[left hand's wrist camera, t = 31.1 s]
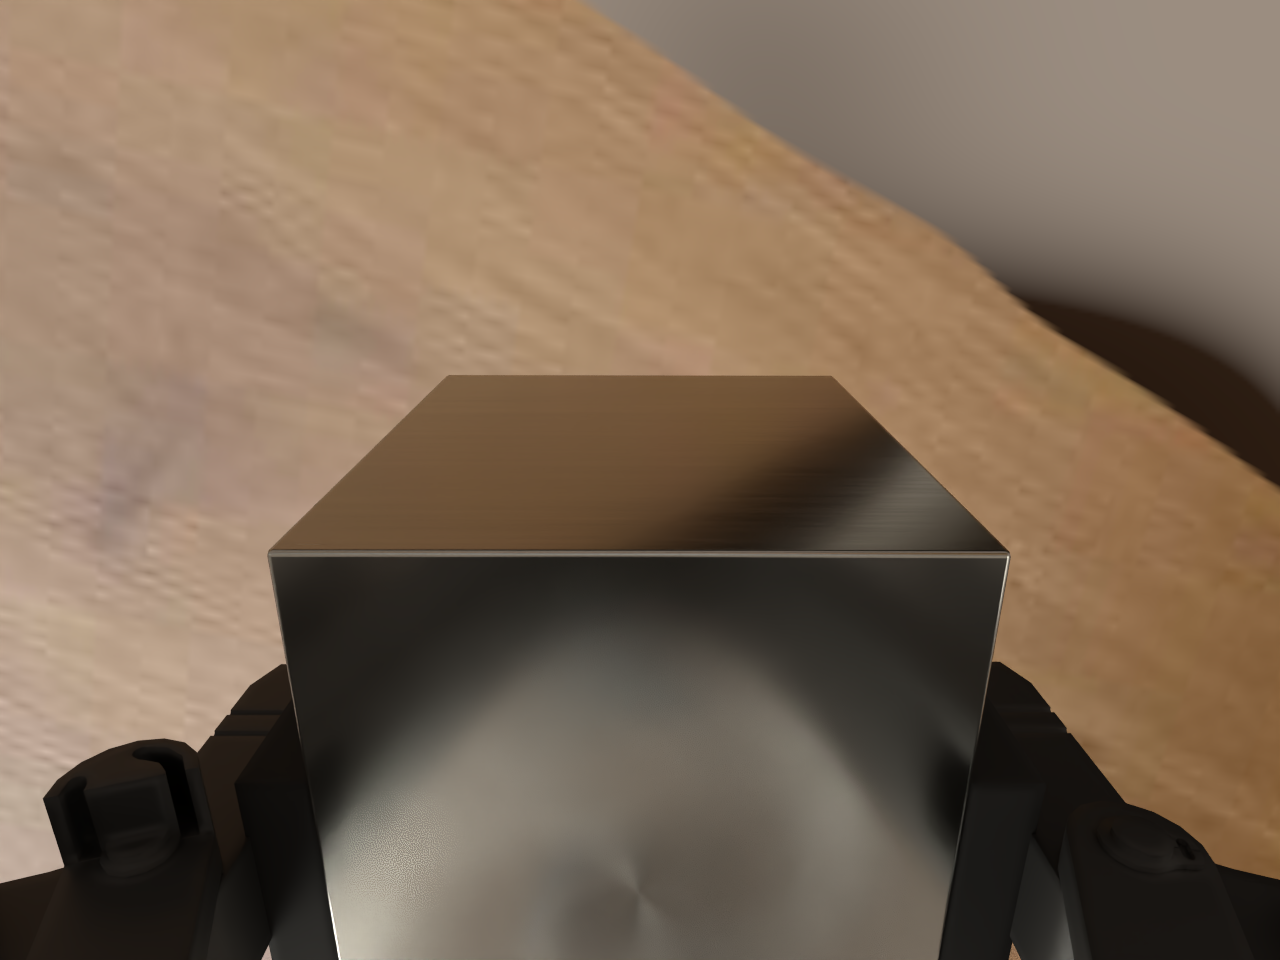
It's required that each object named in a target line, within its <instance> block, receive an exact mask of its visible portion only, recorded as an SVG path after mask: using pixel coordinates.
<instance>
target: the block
mask: <svg viewBox="0 0 1280 960" xmlns="http://www.w3.org/2000/svg"><path fill="white" fill-rule="evenodd" d="M1010 558H1011V557H1010V552H1009V551H1008V550H1007V549H1006V548H1005V547H1004V546H1003V545H1002V544H1001V543H1000V542H999V541H998V540H997V539H996V538H995V537H994V536H993V535H992V534H991V533H990V532H989V531H988V530H987V529H986V528H985V527H984V526H983V525H982V524H981V523H980V522H979V521H978V520H977V519H976V518H975V517H974V516H973V515H972V514H971V513H970V512H969V511H968V510H967V509H966V508H965V507H964V506H963V505H962V504H961V503H960V502H959V501H958V500H957V499H956V498H955V497H954V496H952V495H951V494H950V493H949V492H948V491H947V490H946V489H945V488H944V487H943V486H942V485H941V484H940V483H939V482H938V481H937V480H936V479H935V478H934V477H933V476H932V475H931V474H930V473H929V472H928V471H927V470H926V469H925V468H924V467H923V466H922V465H921V464H920V463H919V462H918V461H917V460H916V459H915V458H914V457H913V456H912V455H911V454H910V453H909V452H908V451H907V450H906V449H905V448H904V447H903V446H902V445H901V444H900V443H899V442H898V441H897V440H896V439H895V438H894V437H893V436H892V435H891V434H890V433H889V432H888V431H887V430H886V429H885V428H884V427H883V426H882V425H881V424H880V423H879V422H878V421H877V420H876V419H875V418H874V417H873V416H872V415H871V414H870V413H869V412H868V411H867V410H866V409H865V408H864V407H863V406H862V405H861V404H860V403H859V402H858V401H857V400H856V399H855V398H854V397H853V396H852V395H851V394H850V393H849V392H848V391H847V390H846V389H845V388H844V387H842V386H841V385H840V384H839V383H838V382H837V381H836V380H835V379H834V378H833V377H832V376H604V375H448V376H447V377H446V378H445V379H443V380H442V381H441V382H440V383H439V384H438V385H437V386H436V387H435V388H434V389H433V390H432V391H431V392H430V393H429V394H428V395H427V396H426V397H425V398H424V399H423V400H422V401H421V402H420V403H419V404H418V405H417V406H416V407H415V408H414V409H413V410H412V411H411V412H410V413H409V414H408V415H407V416H406V417H405V418H404V419H403V420H402V421H401V422H400V423H398V424H397V425H396V426H395V427H394V428H393V429H392V430H391V431H390V432H389V433H388V434H387V435H386V436H385V437H384V438H383V439H382V440H381V441H380V442H379V443H378V444H377V445H376V446H375V447H374V448H373V449H372V450H371V451H370V452H369V453H368V454H367V455H366V456H365V457H364V458H363V459H362V460H361V461H360V462H359V463H358V464H357V465H356V466H355V467H353V468H352V469H351V470H350V471H349V472H348V473H347V474H346V475H345V476H344V477H343V478H342V479H341V480H340V481H339V482H338V483H337V484H336V485H335V486H334V487H333V488H332V489H331V490H330V491H329V492H328V493H327V494H326V495H325V496H324V497H323V498H322V499H321V500H320V501H319V502H318V503H317V504H316V505H315V506H314V507H313V508H312V509H311V510H310V511H308V512H307V513H306V514H305V515H304V516H303V517H302V518H301V519H300V520H299V521H298V522H297V523H296V524H295V525H294V526H293V527H292V528H291V529H290V530H289V531H288V532H287V533H286V534H285V535H284V536H283V537H282V538H281V539H280V540H279V541H278V542H277V543H276V544H275V545H274V546H273V547H272V548H271V549H270V550H269V551H268V562H269V567H270V573H271V579H272V585H273V590H274V596H275V602H276V607H277V613H278V619H279V624H280V630H281V636H282V641H283V647H284V653H285V658H286V664H287V670H288V675H289V681H290V687H291V693H292V698H293V704H294V710H295V715H296V721H297V727H298V732H299V738H300V744H301V749H302V755H303V761H304V766H305V772H306V778H307V784H308V789H309V795H310V801H311V806H312V812H313V818H314V823H315V829H316V835H317V840H318V846H319V852H320V857H321V863H322V869H323V875H324V880H325V886H326V892H327V897H328V903H329V909H330V914H331V920H332V926H333V931H334V937H335V943H336V948H337V954H338V960H939V955H940V949H941V944H942V938H943V932H944V927H945V921H946V916H947V910H948V904H949V899H950V893H951V888H952V882H953V876H954V871H955V865H956V860H957V854H958V849H959V843H960V837H961V832H962V826H963V821H964V815H965V809H966V804H967V798H968V793H969V787H970V781H971V776H972V770H973V765H974V759H975V754H976V748H977V742H978V737H979V731H980V726H981V720H982V714H983V709H984V703H985V698H986V692H987V687H988V681H989V675H990V670H991V664H992V659H993V653H994V647H995V642H996V636H997V631H998V625H999V619H1000V614H1001V608H1002V603H1003V597H1004V592H1005V586H1006V580H1007V575H1008V569H1009V564H1010Z"/></svg>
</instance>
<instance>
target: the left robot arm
mask: <svg viewBox="0 0 1280 960" xmlns="http://www.w3.org/2000/svg"><path fill="white" fill-rule="evenodd" d="M1066 729H1067V728H1066V727H1065V725H1064V724H1063V723H1062V722H1061V720H1060V719H1059V718H1058V717H1057V715H1056V714H1055V713H1054V712H1051V710H1050V706H1049V705H1048V704H1047V703H1046V701H1045V700H1044V699H1043V698H1042V696H1041V695H1040V694H1039V692H1038V691H1037V690H1036V689H1035V687H1034V686H1033V685H1032V684H1031V683H1030V682H1029V681H1027V680H1026V679H1024V678H1023V677H1022V676H1020V675H1019V674H1017V673H1016V672H1014V671H1013V670H1011V669H1010V668H1008V667H1007V666H1005V665H1004V664H1002V663H1001V662H992V664H991V670H990V675H989V681H988V687H987V692H986V698H985V703H984V709H983V714H982V720H981V726H980V731H979V737H978V742H977V748H976V754H975V759H974V765H973V770H972V776H971V781H970V787H969V793H968V798H967V804H966V809H965V815H964V821H963V826H962V832H961V837H960V843H959V849H958V854H957V860H956V865H955V871H954V876H953V882H952V888H951V893H950V899H949V904H948V910H947V916H946V921H945V927H944V932H943V938H942V944H941V949H940V955H939V960H1008V959H1009V955H1010V950H1011V946H1012V942H1013V944H1014V946H1015V948H1016V950H1017V952H1018V954H1019V956H1020V958H1021V960H1280V880H1278V879H1274V878H1269V877H1265V876H1261V875H1256V874H1252V873H1248V872H1244V871H1239V870H1235V869H1231V868H1228V867H1224V866H1221V865H1218V864H1215V863H1214V862H1213V860H1212V859H1211V857H1210V856H1209V854H1208V853H1207V851H1206V850H1205V848H1204V847H1203V845H1202V844H1200V843H1199V842H1198V841H1197V840H1196V839H1195V838H1193V837H1192V836H1191V835H1190V834H1189V833H1187V832H1186V831H1185V830H1184V829H1183V828H1181V827H1180V826H1178V825H1177V824H1175V823H1173V822H1171V821H1169V820H1167V819H1165V818H1164V817H1162V816H1160V815H1158V814H1156V813H1154V812H1152V811H1149V810H1146V809H1143V808H1139V807H1136V806H1133V805H1130V804H1127V803H1125V802H1124V800H1123V799H1122V798H1121V796H1120V795H1119V794H1118V793H1117V791H1116V790H1115V789H1114V788H1113V786H1112V785H1111V784H1110V783H1109V781H1108V780H1107V779H1106V777H1105V776H1104V775H1103V774H1102V772H1101V771H1100V770H1099V769H1098V767H1097V766H1096V765H1095V764H1094V762H1093V761H1092V760H1091V758H1090V757H1089V756H1088V755H1087V753H1086V752H1085V751H1084V750H1083V748H1082V747H1081V746H1080V744H1079V743H1078V742H1077V741H1076V739H1075V738H1074V737H1073V736H1072V734H1071V733H1067V730H1066ZM43 801H44V804H45V807H46V810H47V813H48V816H49V819H50V822H51V826H52V829H53V832H54V835H55V838H56V841H57V844H58V847H59V850H60V854H61V857H62V860H63V863H64V868H61V869H58V870H54V871H51V872H47V873H43V874H39V875H34V876H30V877H26V878H21V879H17V880H13V881H9V882H4V883H0V960H261V959H262V957H263V955H264V953H265V951H266V949H267V947H268V945H269V947H270V952H271V957H272V960H338V954H337V948H336V943H335V937H334V931H333V926H332V920H331V914H330V909H329V903H328V897H327V892H326V886H325V880H324V875H323V869H322V863H321V857H320V852H319V846H318V840H317V835H316V829H315V823H314V818H313V812H312V806H311V801H310V795H309V789H308V784H307V778H306V772H305V766H304V761H303V755H302V749H301V744H300V738H299V732H298V727H297V721H296V715H295V710H294V704H293V698H292V693H291V687H290V681H289V675H288V670H287V664H281V665H279V666H278V667H276V668H275V669H274V670H272V671H271V672H269V673H268V674H266V675H265V676H263V677H262V678H260V679H259V680H257V681H256V682H254V683H253V684H252V685H250V686H249V688H248V689H247V690H246V691H245V693H244V694H243V695H242V696H241V698H240V699H239V700H238V702H237V703H236V704H235V705H234V707H233V708H232V709H231V714H230V715H227V716H226V717H225V718H224V719H223V721H222V722H221V723H220V725H219V726H218V727H217V728H216V730H215V734H214V736H210V737H209V739H208V740H207V741H206V742H205V744H204V745H203V746H202V748H201V749H200V750H199V751H198V753H197V752H196V751H195V750H193V749H192V748H191V747H190V746H189V745H187V744H186V743H185V742H180V741H174V740H169V739H153V740H141V741H136V742H132V743H129V744H125V745H122V746H118V747H115V748H111V749H108V750H106V751H104V752H102V753H100V754H98V755H96V756H94V757H91V758H89V759H87V760H85V761H83V762H81V763H80V764H78V765H77V766H76V767H74V768H73V769H72V770H70V771H69V772H67V773H66V774H65V775H63V776H62V777H61V778H59V779H58V780H57V781H56V782H55V784H54V785H53V786H52V788H51V789H50V790H49V791H48V793H47V794H46V795H45V797H44V798H43Z"/></svg>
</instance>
